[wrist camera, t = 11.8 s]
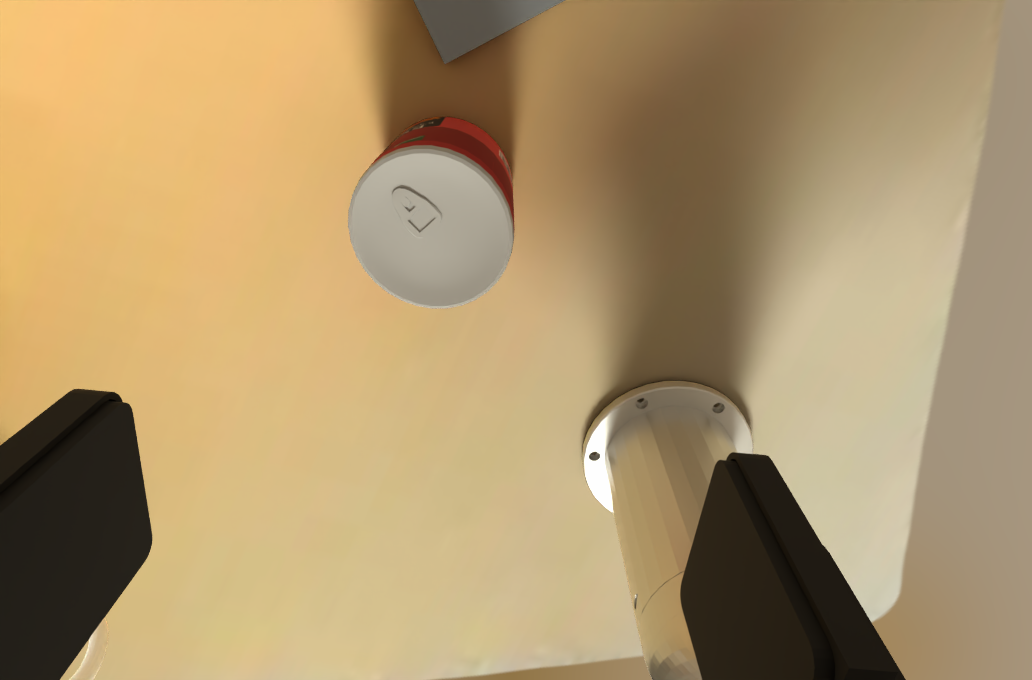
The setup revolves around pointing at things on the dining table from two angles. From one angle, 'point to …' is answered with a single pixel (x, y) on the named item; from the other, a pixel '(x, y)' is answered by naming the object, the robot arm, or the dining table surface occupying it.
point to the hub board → (474, 21)
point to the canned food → (435, 214)
